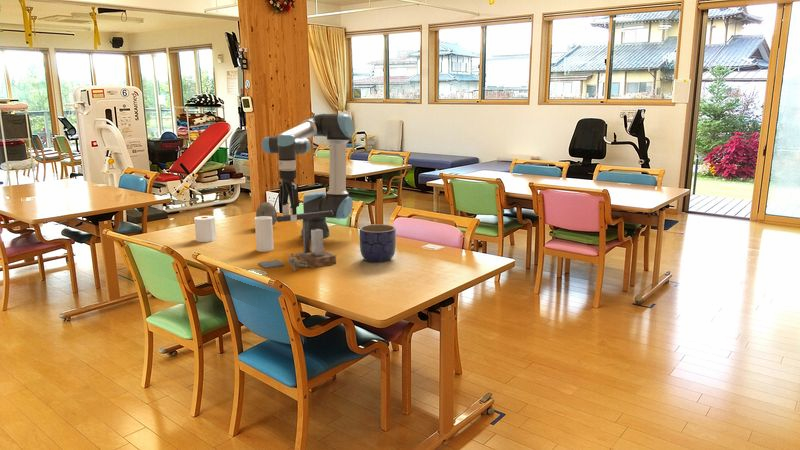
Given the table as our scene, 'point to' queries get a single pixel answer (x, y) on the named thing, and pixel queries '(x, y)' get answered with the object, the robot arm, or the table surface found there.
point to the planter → (377, 242)
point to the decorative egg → (267, 211)
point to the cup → (264, 233)
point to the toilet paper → (205, 228)
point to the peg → (317, 242)
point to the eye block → (318, 259)
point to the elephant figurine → (296, 262)
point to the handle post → (305, 238)
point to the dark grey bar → (305, 216)
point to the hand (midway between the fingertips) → (289, 220)
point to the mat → (271, 264)
